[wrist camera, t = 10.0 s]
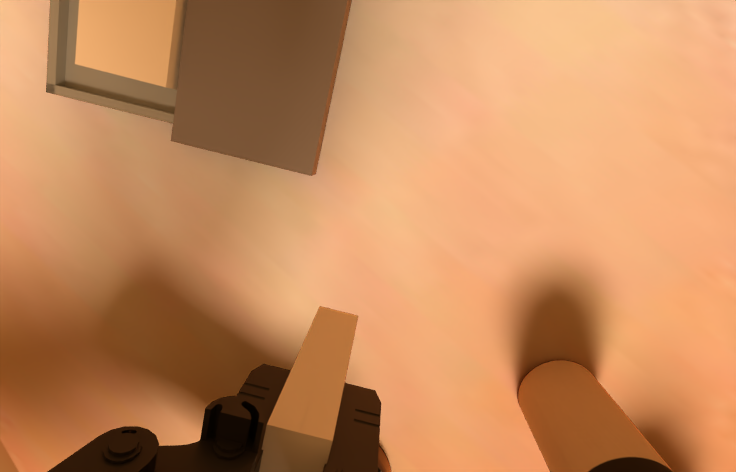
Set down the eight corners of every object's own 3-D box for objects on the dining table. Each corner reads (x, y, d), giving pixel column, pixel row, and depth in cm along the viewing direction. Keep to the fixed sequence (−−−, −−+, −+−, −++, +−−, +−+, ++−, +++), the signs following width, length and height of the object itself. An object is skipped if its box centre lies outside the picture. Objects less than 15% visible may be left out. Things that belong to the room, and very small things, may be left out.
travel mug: (512, 364, 42) (597, 527, 24) (593, 352, 41) (741, 512, 23) (521, 431, 44) (607, 627, 26) (599, 421, 43) (741, 617, 25)
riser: (315, 173, 39) (311, 175, 37) (182, 140, 39) (171, 140, 37) (353, -11, 35) (351, -20, 33) (205, -47, 35) (194, -58, 33)
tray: (183, 124, 38) (174, 124, 37) (59, 93, 38) (46, 92, 37) (202, -28, 35) (193, -36, 34) (67, -62, 35) (53, -70, 34)
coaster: (180, 90, 37) (165, 87, 35) (95, 68, 37) (75, 64, 35) (193, -5, 35) (178, -16, 33) (103, -28, 35) (81, -40, 33)
